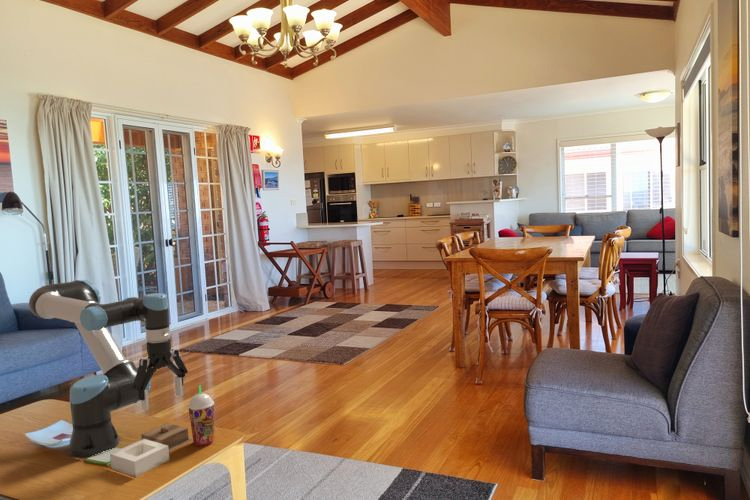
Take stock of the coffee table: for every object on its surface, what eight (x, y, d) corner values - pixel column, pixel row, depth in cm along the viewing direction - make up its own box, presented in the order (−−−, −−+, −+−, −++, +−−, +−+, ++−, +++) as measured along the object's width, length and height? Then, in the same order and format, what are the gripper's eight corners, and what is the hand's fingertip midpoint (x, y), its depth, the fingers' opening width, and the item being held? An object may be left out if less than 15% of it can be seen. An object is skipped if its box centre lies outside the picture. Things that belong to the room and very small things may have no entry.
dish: (111, 469, 172) (109, 453, 171) (145, 453, 182) (143, 438, 182) (135, 477, 166) (134, 461, 165) (169, 461, 176) (168, 445, 175)
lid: (142, 445, 187) (141, 430, 187) (168, 434, 196) (167, 419, 196) (162, 452, 182) (161, 436, 181) (188, 439, 191) (187, 424, 190)
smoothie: (209, 449, 183) (205, 390, 181) (186, 448, 184) (181, 389, 183) (221, 438, 191) (217, 381, 189) (199, 437, 193) (194, 381, 191)
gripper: (132, 350, 173) (137, 417, 175) (195, 332, 194) (199, 392, 196) (117, 348, 177) (122, 412, 179) (181, 330, 198) (185, 388, 200)
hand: (162, 402), depth 188 cm, fingers open, 13 cm apart
